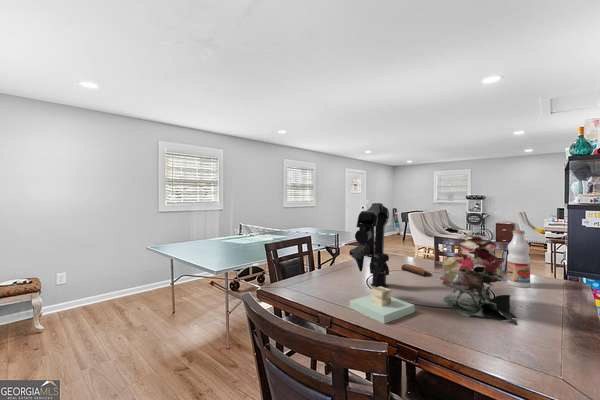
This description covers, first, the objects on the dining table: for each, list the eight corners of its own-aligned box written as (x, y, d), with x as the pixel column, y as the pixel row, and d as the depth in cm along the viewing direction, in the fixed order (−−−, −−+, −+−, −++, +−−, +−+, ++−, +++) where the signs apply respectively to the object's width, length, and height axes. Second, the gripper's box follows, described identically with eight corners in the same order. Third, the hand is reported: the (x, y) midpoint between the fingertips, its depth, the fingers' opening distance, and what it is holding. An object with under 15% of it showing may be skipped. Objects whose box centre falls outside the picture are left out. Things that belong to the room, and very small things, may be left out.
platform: (379, 298, 129) (379, 292, 129) (414, 312, 114) (414, 304, 114) (349, 307, 119) (349, 300, 119) (383, 323, 104) (383, 315, 104)
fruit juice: (514, 281, 153) (514, 229, 153) (534, 286, 145) (534, 231, 144) (503, 283, 150) (503, 230, 149) (522, 289, 141) (523, 232, 140)
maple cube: (380, 299, 121) (380, 286, 120) (391, 303, 116) (390, 289, 116) (371, 302, 118) (371, 288, 117) (381, 306, 113) (381, 292, 113)
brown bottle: (434, 274, 167) (430, 265, 165) (427, 282, 164) (423, 273, 163) (411, 268, 183) (407, 259, 181) (404, 274, 180) (399, 266, 179)
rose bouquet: (499, 298, 128) (499, 232, 128) (526, 327, 101) (527, 242, 100) (436, 292, 137) (436, 230, 136) (446, 317, 109) (445, 239, 109)
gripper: (340, 238, 132) (341, 272, 133) (371, 244, 117) (372, 282, 117) (357, 236, 138) (358, 267, 139) (389, 241, 123) (389, 277, 123)
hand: (368, 273), depth 129 cm, fingers open, 9 cm apart
